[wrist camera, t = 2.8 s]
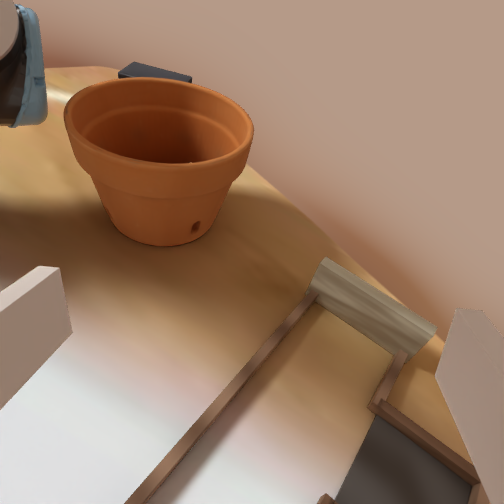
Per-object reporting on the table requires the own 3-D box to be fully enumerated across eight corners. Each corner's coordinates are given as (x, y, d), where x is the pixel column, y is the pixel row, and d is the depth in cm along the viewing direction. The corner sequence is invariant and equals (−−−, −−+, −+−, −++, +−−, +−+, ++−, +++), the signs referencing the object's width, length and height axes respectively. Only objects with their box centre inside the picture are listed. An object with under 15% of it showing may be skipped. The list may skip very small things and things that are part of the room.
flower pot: (53, 195, 51) (26, 89, 41) (177, 155, 63) (181, 65, 53) (140, 294, 43) (135, 191, 32) (264, 225, 55) (289, 135, 44)
